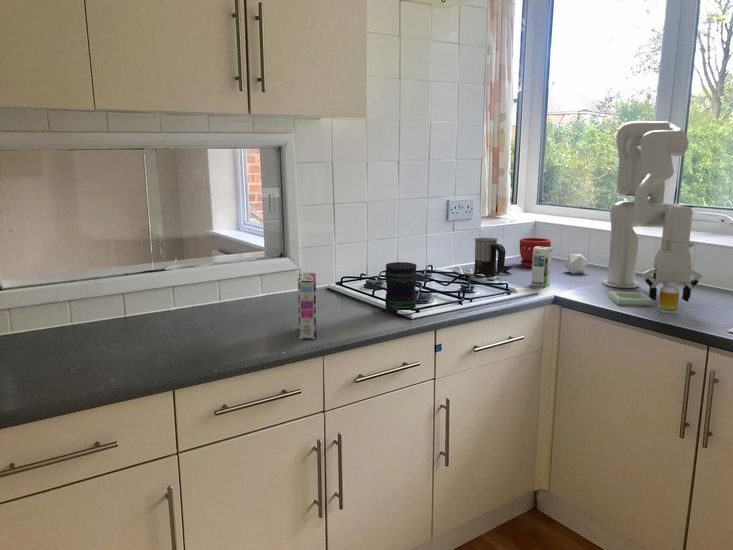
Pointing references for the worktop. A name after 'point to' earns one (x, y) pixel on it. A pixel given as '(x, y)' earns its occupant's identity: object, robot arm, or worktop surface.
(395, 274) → the storage jar
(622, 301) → the green tray
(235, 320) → the worktop surface
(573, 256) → the die
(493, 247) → the milk frother
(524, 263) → the plant pot
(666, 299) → the supplement bottle
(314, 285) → the candy bar box
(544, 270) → the syrup box
